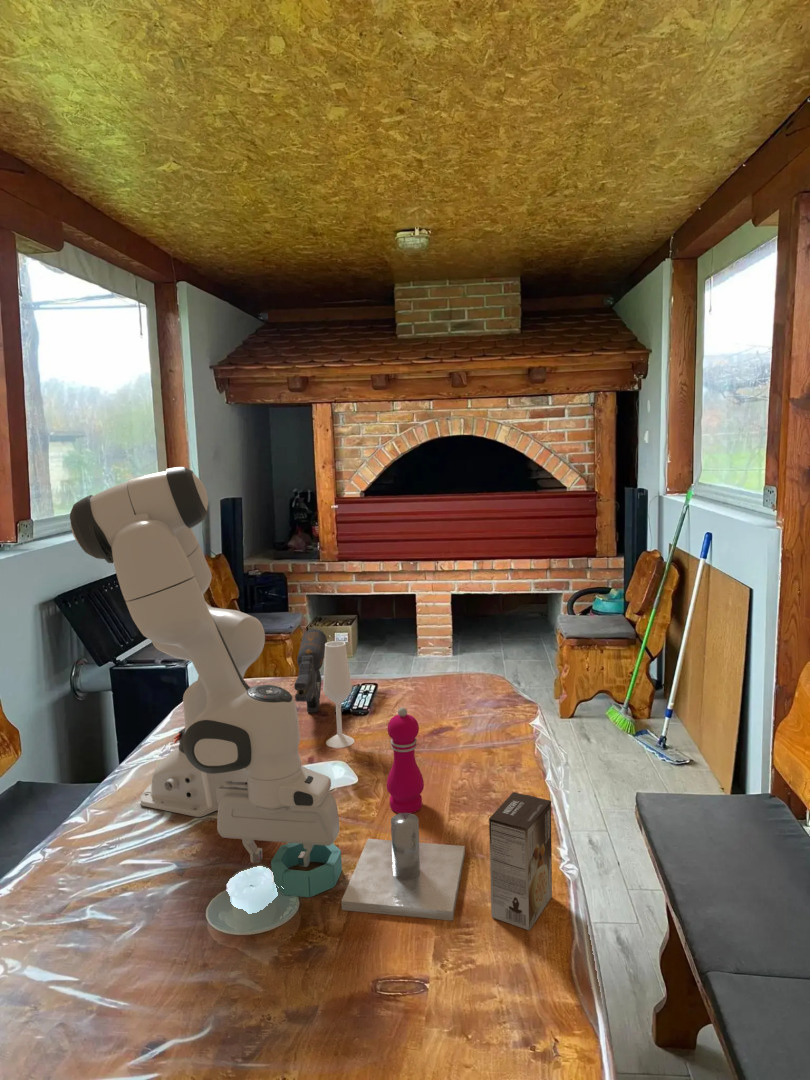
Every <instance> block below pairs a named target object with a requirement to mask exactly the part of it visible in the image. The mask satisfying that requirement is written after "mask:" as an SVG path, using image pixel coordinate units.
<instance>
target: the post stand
mask: <svg viewBox="0 0 810 1080" xmlns="http://www.w3.org/2000/svg"><path fill="white" fill-rule="evenodd" d="M419 825H420V824H419V817H418V816H417V815H416V814H413V813H397V814H394V815H393V816H391V818H390V832H391V833H390V834H391V840H389V839H379V838H378V839H377V838H367V840H366V842H365V845H364V847H363V849H362V852H361V853H360V857H359V858H358V861H357V863H356V866H355V868H354V870H353V873H352V875H351V877H350V880H349V882H348V885H347V887H346V889H345V892H344V894H343V896H342V898H341V901H340V902H341V903H340V904H341V911H347V912H348V911H349V912H357V913H371V914H380V915H390V916H399V917H409V918H421V919H430V920H431V919H432V920H442V921H453V920H454V917H455V916H454V915H455V910H456V904H457V898H458V894H459V887H460V882H461V878H462V871H463V867H464V860H465V854H466V850H465V847H466V846H465V845H456V844H443V843H442V844H441V843H440V844H439V843H430V842H429V843H428V842H420V827H419Z"/></svg>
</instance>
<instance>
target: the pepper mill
mask: <svg viewBox="0 0 810 1080" xmlns="http://www.w3.org/2000/svg"><path fill="white" fill-rule="evenodd" d="M419 730H420V725H419V723H418V721H417V719H416V718H415V717H414V716H413V715H411V714H408V709H407V708H406V707H400V708H399V709H398V710H397V714H395V715H394V716H393V717H391V718H390V720H389V721H388V723H387V734H388V735H389V738H391V739H390V748H391V750H393V751H392V752H393V762H392V766H391V769H390V771H389V773H388V775H387V779H386V789H387V790H386V791H387V792H388V794H389V796H390V797H389V807H390V809H391V810H392V812H394V813H397V814H400V813H411V814H413V813H416V812H418V811H419V810H420V809H422V806H423V798H422V795H421V794H422V793H423V790H424V787H425V783H424V777H423V774H422V773H421V769H420V767H419V766H418V764H417V761H416V757H415V749H417V746H418V744H417V742H418V741H417V738H416V737H418V734H419V732H420V731H419Z"/></svg>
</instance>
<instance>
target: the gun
mask: <svg viewBox="0 0 810 1080" xmlns="http://www.w3.org/2000/svg"><path fill="white" fill-rule="evenodd" d="M327 641H328V639H327V636H326V634H325V633H324V631H323V630H321V629H318V628H311V629H309V630H307V631H305V633H304V634H303V636H302V640H301V642H300V643H301V644H300V647H299V650H298V655H297V656H296V657H297V658H296V664H297V667H298V676H297V678H296V680H295V683H294V690H295V691H296V693H295V696H294V702H296V703H297V702H298V703H299V702H304V703H305V702H306V712H307V713H308V714H315V713H318V711H319V710H320V704H321V703H320V702H321V700H320V699H321V693H322V692H321V689H322V688H321V687H322V679H323V678H322V675H321V671H320V669H321V668H322V667H323V665H324V658H325V644H326V643H327Z"/></svg>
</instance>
